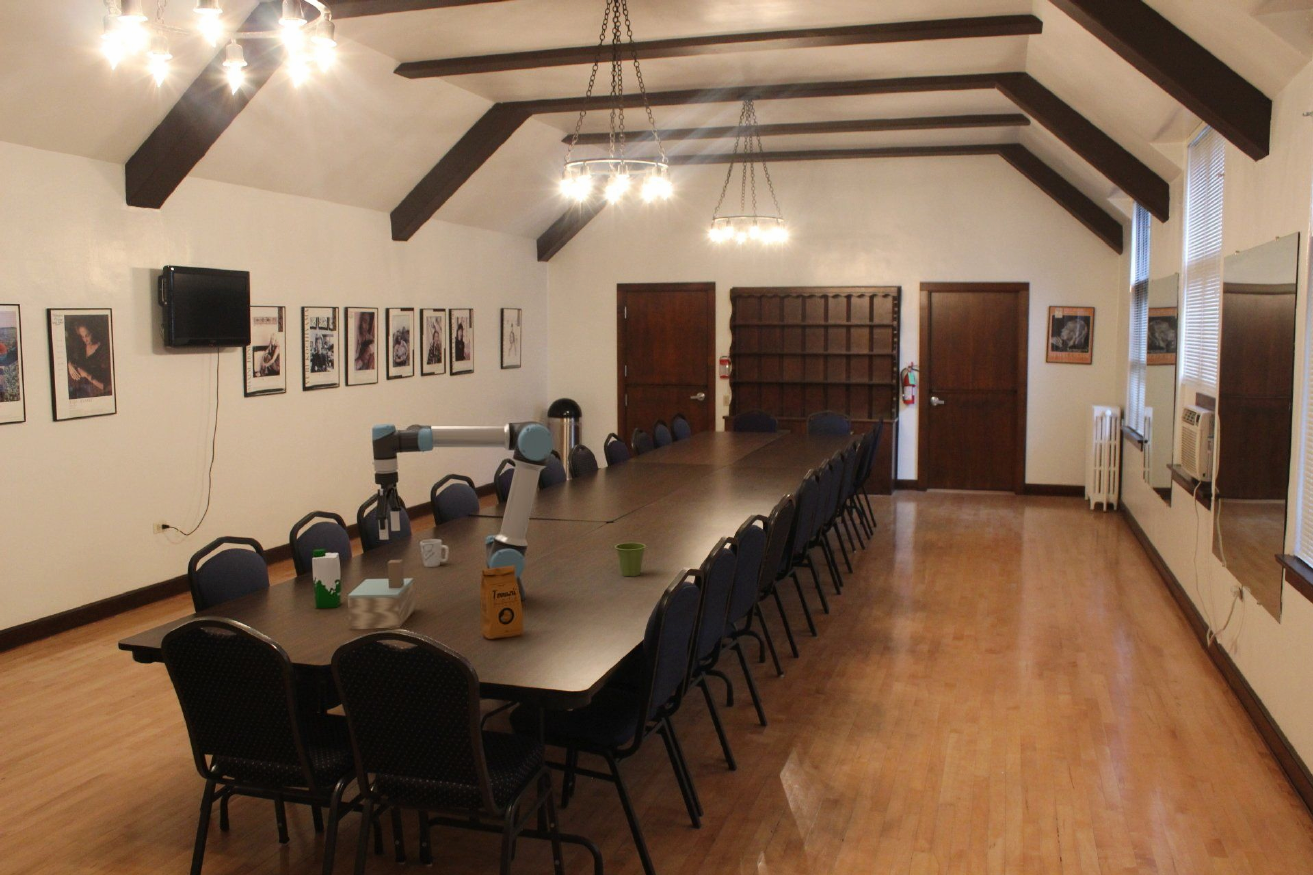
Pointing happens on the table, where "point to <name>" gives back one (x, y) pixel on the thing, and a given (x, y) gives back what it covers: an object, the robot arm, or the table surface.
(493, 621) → the coffee package
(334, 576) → the milk carton
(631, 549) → the plant pot
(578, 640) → the table surface
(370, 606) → the box
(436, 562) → the mug
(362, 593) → the lid
